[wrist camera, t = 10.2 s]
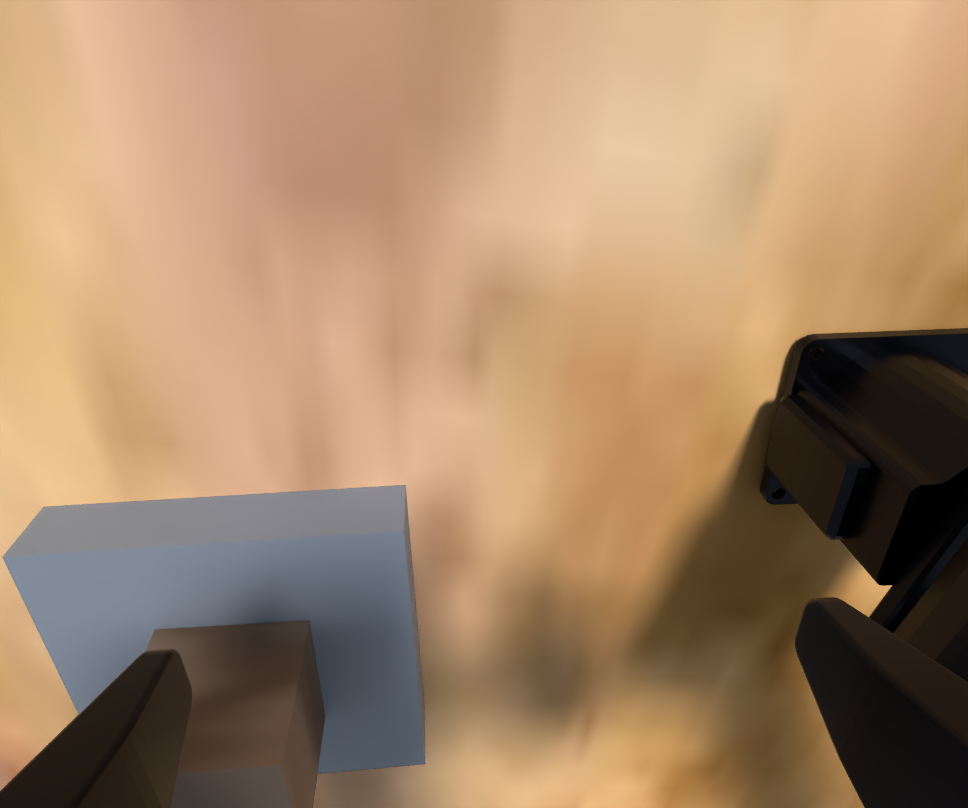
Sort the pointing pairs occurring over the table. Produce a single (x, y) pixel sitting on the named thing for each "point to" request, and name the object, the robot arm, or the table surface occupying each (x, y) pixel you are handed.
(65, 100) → the table surface
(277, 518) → the slate block
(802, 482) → the robot arm
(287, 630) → the walnut cube
